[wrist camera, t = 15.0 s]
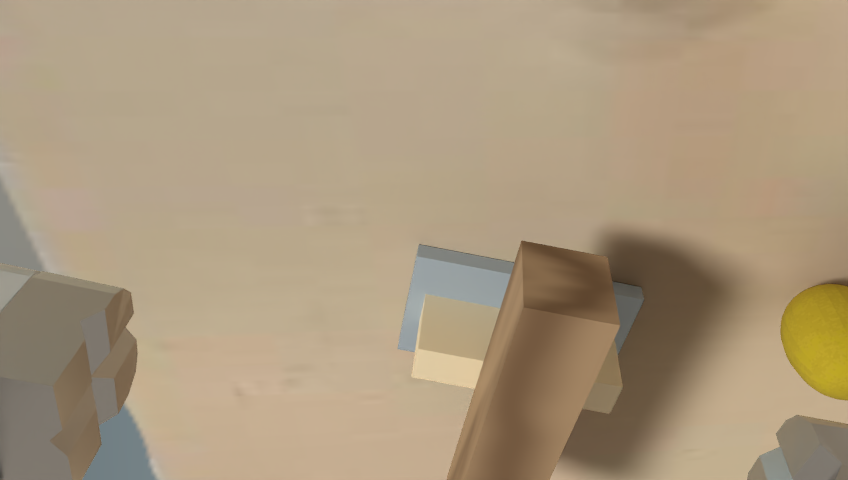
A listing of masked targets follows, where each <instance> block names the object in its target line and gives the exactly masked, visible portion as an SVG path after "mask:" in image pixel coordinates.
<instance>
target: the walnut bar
mask: <svg viewBox="0 0 848 480" xmlns="http://www.w3.org/2000/svg"><path fill="white" fill-rule="evenodd" d="M619 328H620V321H619V316H618V310H617V305H616V299H615V294H614V289H613V283H612V278H611V273H610V267H609V262H608V257H604V256H599V255H594V254H589V253H584V252H578V251H573V250H568V249H563V248H557V247H552V246H547V245H542V244H537V243H531V242H526V241H521V244H520V247H519V250H518V254H517V257H516V260H515V263H514V266H513V270H512V273H511V276H510V279H509V282H508V285H507V289H506V292H505V295H504V298H503V301H502V304H501V308H500V311H499V314H498V317H497V320H496V324H495V327H494V330H493V333H492V336H491V339H490V343H489V346H488V349H487V352H486V355H485V358H484V362H483V365H482V368H481V371H480V374H479V378H478V381H477V384H476V387H475V390H474V393H473V397H472V400H471V403H470V406H469V409H468V412H467V416H466V419H465V422H464V425H463V428H462V432H461V435H460V438H459V441H458V444H457V447H456V451H455V454H454V457H453V460H452V463H451V466H450V470H449V473H448V476H447V480H550V477H551V475H552V473H553V471H554V469H555V467H556V464H557V462H558V460H559V458H560V456H561V454H562V451H563V449H564V447H565V445H566V443H567V440H568V438H569V436H570V434H571V432H572V430H573V427H574V425H575V423H576V421H577V419H578V417H579V414H580V412H581V410H582V408H583V406H584V404H585V401H586V399H587V397H588V395H589V393H590V391H591V388H592V386H593V384H594V382H595V380H596V377H597V375H598V373H599V371H600V369H601V367H602V364H603V362H604V360H605V358H606V356H607V354H608V351H609V349H610V347H611V345H612V343H613V341H614V338H615V336H616V334H617V332H618V330H619Z"/></svg>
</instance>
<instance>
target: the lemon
mask: <svg viewBox="0 0 848 480" xmlns="http://www.w3.org/2000/svg"><path fill="white" fill-rule="evenodd" d="M781 340H782V343H783V347H784V350H785V353H786V355H787V358H788V360H789V361H790V363H791V365H792V366H793V367H794V369H795V370H796V371H797V373H798V374H799V375H800V376H801V377H802V379H803V380H804V381H805V382H806V383H807V384H808V385H810V386H811V387H812V388H814V389H815V390H817V391H818V392H820V393H821V394H823V395H826V396H829V397H832V398H835V399H840V400H848V286H844V285H840V284H823V285H817V286H814V287H811V288H808V289H806V290H804V291H802V292H801V293H799V294H798V295H797V296H796V297H794V298H793V299H792V301H791V302H790V303H789V304H788V306H787V307H786V309H785V312H784V314H783V316H782V321H781Z"/></svg>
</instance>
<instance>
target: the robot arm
mask: <svg viewBox="0 0 848 480" xmlns="http://www.w3.org/2000/svg"><path fill="white" fill-rule="evenodd" d="M133 314H134V311H133V304H132V297H131V292H129V291H127V290H125V289H124V288H119V287H114V286H110V285H105V284H100V283H96V282H91V281H86V280H82V279H77V278H72V277H68V276H63V275H58V274H54V273H49V272H44V271H42V272H40V271H35V270H31V269H26V268H21V267H17V266H12V265H7V264H3V263H0V480H82V478H83V477H84V475H85V473H86V471H87V469H88V468H89V466H90V464H91V462H92V460H93V459H94V457H95V455H96V453H97V452H98V450H99V448H100V446H101V437H100V430H99V425H100V424H102V423H104V422H105V421H107V420H109V419H110V418H112V417H114V416H115V415H117V414H118V413H119V411H120V409H121V407H122V406H123V404H124V402H125V400H126V398H127V396H128V394H129V391H130V388H131V385H132V381H133V378H134V375H135V372H136V363H137V341H136V339H135V337H134V336H133V335H132V334H131V333H130V332H129V331H128V330H127V328H126V325H127V323H128V322H129V320H130V319H131V317H132V315H133ZM776 436H777V439H778V442H779V446H780V447H778V448H776V449H774V450H772V451H769V452H767V453H765V454H763V455H760V456H759V458H758V459H757V461H756V462H755V464H754V465H753V467H752V468H751V470H750V471H749V473H748V478H747V480H848V424H845V423H839V422H834V421H828V420H823V419H817V418H811V417H806V416H800V415H796V416H794V417H792V418H790V419H788V420H786V421H785V422H784V424H783V425H782V426H781V428H780V429H779V430H778V432H777V433H776Z"/></svg>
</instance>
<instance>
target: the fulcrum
mask: <svg viewBox="0 0 848 480" xmlns="http://www.w3.org/2000/svg"><path fill="white" fill-rule="evenodd" d="M513 266H514V263H513V262H508V261H503V260H498V259H492V258H487V257H482V256H477V255H472V254H466V253H461V252H456V251H451V250H445V249H440V248H435V247H430V246H425V245H419V247H418V252H417V256H416V261H415V266H414V271H413V275H412V280H411V285H410V290H409V295H408V299H407V304H406V309H405V314H404V318H403V323H402V328H401V333H400V338H399V344H398V349H401V350H406V351H411V352H415V355H414V362H413V370H412V377H414V378H419V379H425V380H430V381H435V382H441V383H446V384H451V385H457V386H462V387H467V388H473V389H475V387H476V384H477V381H478V378H479V374H480V371H481V368H482V365H483V362H484V358H485V355H486V352H487V349H488V346H489V343H490V339H491V336H492V333H493V330H494V327H495V324H496V320H497V317H498V314H499V311H500V308H501V304H502V301H503V298H504V295H505V292H506V289H507V285H508V282H509V279H510V276H511V273H512V270H513ZM612 283H613V289H614V294H615V299H616V305H617V310H618V316H619V321H620V328H619V330H618V332H617V334H616V336H615V338H614V341H613V343H612V345H611V347H610V349H609V351H608V354H607V356H606V358H605V360H604V362H603V364H602V367H601V369H600V371H599V373H598V375H597V377H596V380H595V382H594V384H593V386H592V388H591V391H590V393H589V395H588V397H587V399H586V401H585V404H584V406H583V408H582V409H585V410H591V411H596V412H601V413H607V414H610V412H611V410H612V408H613V406H614V404H615V402H616V400H617V398H618V396H619V394H620V393H621V391H622V389H623V384H622V378H621V372H620V366H619V361H618V354H619V352H620V350H621V348H622V345H623V343H624V341H625V339H626V337H627V335H628V333H629V331H630V329H631V327H632V324H633V322H634V320H635V318H636V316H637V314H638V312H639V310H640V308H641V306H642V303H643V301H644V297H643V292H642V288H641V287H638V286H633V285H628V284H623V283H617V282H612Z"/></svg>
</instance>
